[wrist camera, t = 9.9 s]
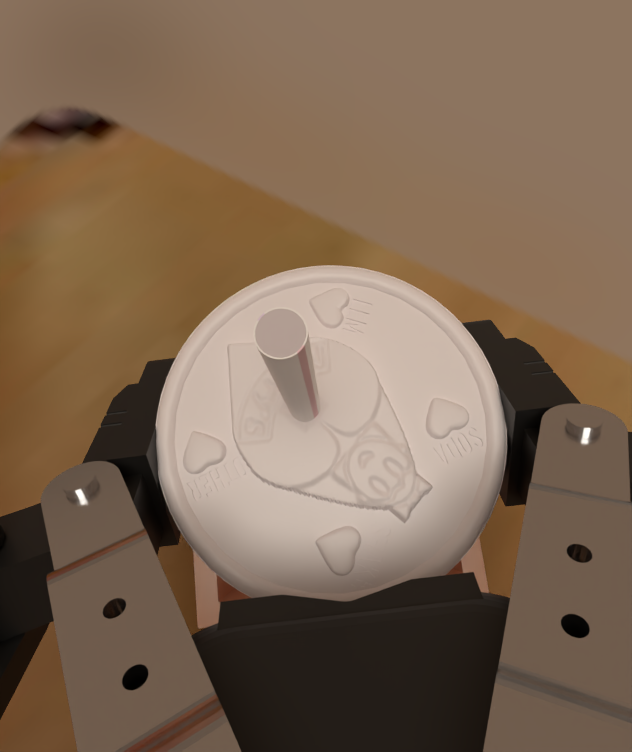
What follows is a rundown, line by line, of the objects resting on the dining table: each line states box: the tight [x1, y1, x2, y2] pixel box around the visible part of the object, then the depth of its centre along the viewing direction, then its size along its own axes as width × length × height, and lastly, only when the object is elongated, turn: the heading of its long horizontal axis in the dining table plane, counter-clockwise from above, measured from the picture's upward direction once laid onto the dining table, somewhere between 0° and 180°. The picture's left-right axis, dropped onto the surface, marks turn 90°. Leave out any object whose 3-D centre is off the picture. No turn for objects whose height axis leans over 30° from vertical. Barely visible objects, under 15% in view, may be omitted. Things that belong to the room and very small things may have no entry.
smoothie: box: [156, 265, 507, 601], centre depth 12 cm, size 6×6×14 cm
